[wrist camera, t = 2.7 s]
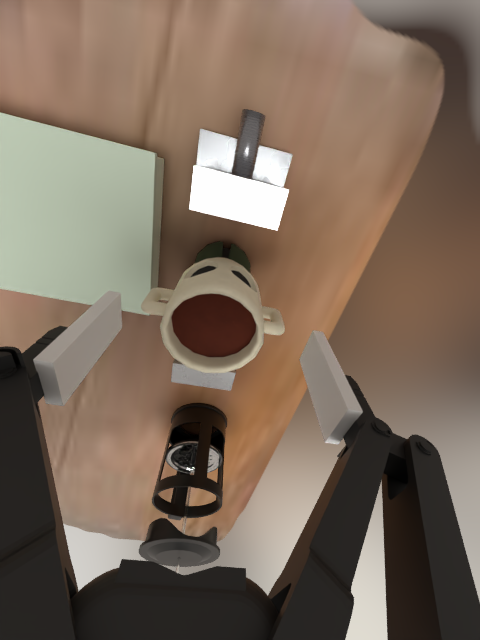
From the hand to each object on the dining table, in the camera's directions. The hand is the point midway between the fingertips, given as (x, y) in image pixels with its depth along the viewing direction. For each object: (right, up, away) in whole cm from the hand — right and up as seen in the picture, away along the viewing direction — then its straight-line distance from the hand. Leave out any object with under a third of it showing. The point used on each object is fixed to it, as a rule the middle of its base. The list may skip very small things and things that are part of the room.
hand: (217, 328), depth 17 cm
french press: (-6, -17, +25) cm, 31 cm away
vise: (0, +6, +10) cm, 12 cm away
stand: (-14, +11, +8) cm, 19 cm away
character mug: (0, +6, +11) cm, 13 cm away
